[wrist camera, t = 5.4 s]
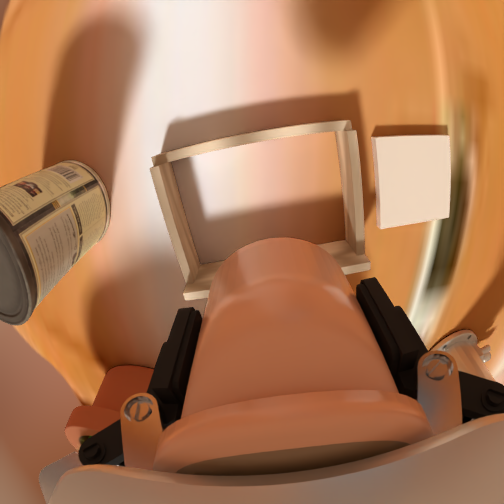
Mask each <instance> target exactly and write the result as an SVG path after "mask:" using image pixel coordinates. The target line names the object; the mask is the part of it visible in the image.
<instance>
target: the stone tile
mask: <svg viewBox="0 0 504 504" xmlns="http://www.w3.org/2000/svg"><path fill="white" fill-rule="evenodd" d="M371 141H372V150H373V160H374V173H375V188H376V212H377V226H378V227H379V228H380V229H384V228H390V227H396V226H402V225H408V224H414V223H419V222H425V221H431V220H437V219H443V218H449V208H450V180H451V167H450V139H449V135H444V134H426V135H393V136H375V137H371Z"/></svg>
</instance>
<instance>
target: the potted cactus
mask: <svg viewBox="0 0 504 504" xmlns="http://www.w3.org/2000/svg"><path fill="white" fill-rule="evenodd" d="M153 371H154V369H151V368H146V367H141V366H133V365H123V366H117V367H114V368H112V369H110V370H109V371H108V372H107V374H106V375H105V378H104V380H103V382H102V384H101V387H100V389H99V391H98V393H97V396H96V398H95V401H94V403H93V405H92V406H79V407H76V408H75V409H74V410H73V411H72V413H71V416H70V418H69V420H68V423H67V425H66V427H65V435H66V437H67V439H68V440H69V442H70V443H71V444H72V445H73V446H74V447H75V448H76V449H77V450H78V451H79V449H80V446H81V445H82V443H83V442H84V441H85V440H87V439H88V438H90V437H91V436H93V435H95V434H96V433H98V432H100V431H101V430H103V429H105V428H106V427H108V426H109V425H111V424H113V423H114V422H116V421H117V420H119V419H121V417H120V412H121V407H122V405H123V403H124V402H125V401H126V400H127V399H128V398H129V397H130V396H132V395H135V394H137V393H147V389H148V386H149V383H150V380H151V377H152V374H153Z"/></svg>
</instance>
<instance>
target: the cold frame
mask: <svg viewBox="0 0 504 504" xmlns="http://www.w3.org/2000/svg"><path fill="white" fill-rule="evenodd" d="M332 131H335V135H336V142H337V149H338V157H339V165H340V174H341V183H342V194H343V205H344V219H345V235H346V240H342V241H336V242H330V243H324V244H318V245H317V246H319V247H321V248H322V249H324V250H325V251H327V252H328V253H329V254H330V255H331V256H332V257H333V258H334V259H335V260H336V261H337V262H338V264H339V265H340V267H341V269H342V271H343V272H344V274H345V275H347V274H352V273H357V272H362V271H367V270H370V261H369V259H368V258H367V257H366V255H365V236H364V208H363V192H362V178H361V167H360V157H359V148H358V139H357V132H356V130H352V125H351V120H335V121H325V122H316V123H307V124H299V125H292V126H285V127H278V128H272V129H266V130H260V131H255V132H249V133H244V134H239V135H234V136H229V137H224V138H220V139H215V140H211V141H207V142H202V143H198V144H194V145H190V146H186V147H183V148H179V149H175V150H172V151H168V152H164V153H161V154H158V155H156V156H154V157H151V158H152V162H153V165H154V166H153V167H152V168H150V171H151V175H152V179H153V182H154V186H155V189H156V193H157V196H158V200H159V203H160V206H161V210H162V213H163V216H164V220H165V223H166V226H167V229H168V232H169V235H170V238H171V242H172V245H173V248H174V251H175V254H176V257H177V260H178V262H179V265H180V268H181V271H182V274H183V277H184V280H185V282H186V286H185V289H184V292H183V295H184V298H185V300H186V301H187V300H195V299H202V298H208V295H209V291H210V287H211V283H212V280H213V278H214V275H215V274H216V272H217V270H218V269H219V267H220V266H221V265H222V263H223V262H224V261H219V262H213V263H207V264H201V265H200V262H199V259H198V256H197V252H196V249H195V246H194V242H193V239H192V236H191V232H190V229H189V226H188V222H187V219H186V215H185V212H184V208H183V205H182V201H181V197H180V194H179V190H178V186H177V183H176V179H175V175H174V171H173V167H172V163H171V161H175V160H178V159H182V158H186V157H190V156H194V155H198V154H202V153H207V152H211V151H216V150H220V149H225V148H229V147H234V146H239V145H244V144H250V143H255V142H261V141H266V140H272V139H278V138H285V137H292V136H299V135H306V134H314V133H323V132H332Z"/></svg>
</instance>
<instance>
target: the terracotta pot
mask: <svg viewBox="0 0 504 504" xmlns="http://www.w3.org/2000/svg"><path fill="white" fill-rule="evenodd" d="M433 436H434V434H433V432H432V429H431V427H430V424H429V422H428V419H427V417H426V414H425V412H424V410H423V407H422V405H421V404H420V403H418V402H417V401H416V400H415V399H413V398H411V397H409V396H406V395H402V394H399V392H398V389H397V387H396V384H395V382H394V379H393V377H392V375H391V372H390V370H389V368H388V365H387V363H386V361H385V358H384V356H383V354H382V351H381V349H380V347H379V345H378V342H377V340H376V338H375V336H374V334H373V332H372V329H371V327H370V325H369V323H368V321H367V319H366V317H365V315H364V312H363V310H362V308H361V306H360V304H359V302H358V300H357V298H356V296H355V294H354V292H353V290H352V288H351V286H350V284H349V282H348V280H347V278H346V276H345V274H344V272H343V271H342V269H341V267H340V265H339V264H338V262H337V261H336V260H335V259H334V258H333V257H332V256H331V255H330V254H329V253H328V252H327V251H325V250H324V249H322V248H321V247H319V246H317V245H315V244H313V243H311V242H308V241H305V240H301V239H296V238H289V237H277V238H268V239H264V240H259V241H256V242H253V243H251V244H248V245H246V246H244V247H242V248H240V249H239V250H237V251H236V252H234V253H233V254H231V255H230V256H229V257H228V258H227V259H226V260H225V261H224V262H223V263H222V265H221V266H220V267H219V269H218V270H217V272H216V274H215V275H214V278H213V280H212V283H211V287H210V291H209V295H208V299H207V304H206V308H205V312H204V316H203V320H202V324H201V329H200V333H199V337H198V342H197V346H196V350H195V355H194V359H193V364H192V368H191V373H190V377H189V382H188V386H187V391H186V396H185V401H184V405H183V410H182V415H181V419H180V420H177V421H176V422H174V423H173V424H171V425H170V426H168V427H167V428H166V429H165V430H164V431H163V432H162V434H161V436H160V438H159V442H158V446H157V450H156V455H155V459H154V464H153V471H160V472H169V473H179V474H191V475H210V476H248V475H267V474H280V473H290V472H298V471H306V470H312V469H319V468H324V467H330V466H335V465H340V464H345V463H349V462H354V461H358V460H362V459H366V458H370V457H373V456H377V455H380V454H384V453H387V452H390V451H394V450H397V449H400V448H403V447H406V446H408V445H411V444H414V443H417V442H420V441H423V440H425V439H428V438H430V437H433Z"/></svg>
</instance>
